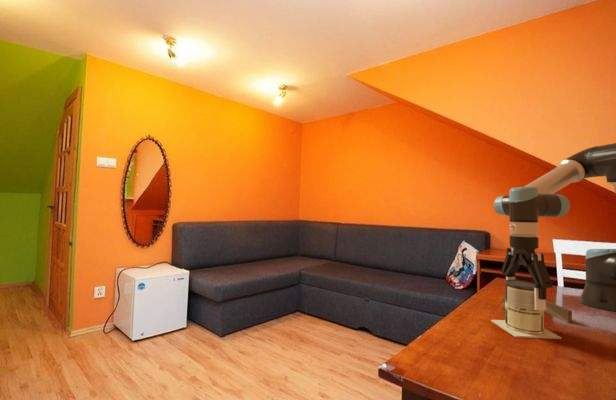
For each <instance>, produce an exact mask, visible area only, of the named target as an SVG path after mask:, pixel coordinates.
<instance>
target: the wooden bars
mask: <svg viewBox="0 0 616 400" xmlns="http://www.w3.org/2000/svg"><path fill="white" fill-rule="evenodd" d="M501 310H504V311H505V297H504V298H503V297H502V298H501ZM544 313H546V314H547V315H551V316H552V317H554V318H557V319H559V320H561V321H563V322H565V323H568V324H572V323H573V312H572V310H571V309H567V308H565V307H563V306H560V305H558V304H556V303H553V302H551V301H548V300H546V310H544Z"/></svg>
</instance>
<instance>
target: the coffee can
mask: <svg viewBox="0 0 616 400" xmlns="http://www.w3.org/2000/svg"><path fill="white" fill-rule="evenodd" d="M535 286H536V284H535V283H534V281H533V280H532V281H531V280H525V279H516V280H515V279H510V280H506V279H504V289H505V290H504V298H505V310H504V320H505V325H506V326H507V327H508V328H510V329H512V330H515V331H518V332H522V333H528V334H543V333H544V328H545V312H544V310H535V305H534V287H535Z"/></svg>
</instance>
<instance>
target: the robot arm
mask: <svg viewBox="0 0 616 400" xmlns="http://www.w3.org/2000/svg"><path fill="white" fill-rule="evenodd" d="M596 177H597V178H598V177H599V178H601V177H605V179H606V182H607V183H608V184H609V185H612V186H613V187H614V192H615V194H616V142H615V143H614V142H612V143H610V144H609V143H608V144H603V145H596V146H592V147H588V148H586V149H582V150H581V151H579V152H577V153H574V154H572V155H571V156H569V157H567V158H565V159H563V160H561V161H560V162H559V163H558V164H557V166H556V167H555V168H553V169H552V170H550V171H549V172H546V173H545V174H543V175H542V176H541V175H540V177H537V178H536V179H535V180H533V181H531V182H529V183H528V184H526V185H524V186H519V187H512V188H510V189H509V191H508V192H509V193H508V194H509V195H507V194H505V195H500V196H497V197H496V198H495V200H494V201H493V208H494V211H495V212H496V213H497V215H500V216H507V217H509V221H508V222H509V226H508V227H509V234H510V235H509V247H507V248H506V253H505V254H506V255H505V258H504V261H503V265H502V268H501V271H500V272H501V274H504V276H505V280H510V279H515V280H517V277H516V274H517V272H518V270H519V268H520V267H521V265H522V266H524V267H525V268H526V269H527V271H528V272H529V274H530V276H531V278H532V282H534V283H535V284H536V286H535V287H534V305H535V310H546V301H547V289H551V288H553V287H554V286H553V283H552V280H551V277H550V275H549V271H548V268H547V265H546V263H545V257H544V256H545V255H544V254H543V253H536V250H537V249H539V244H540V243H539V237H538V236H539V233H540V232H539V218H540V217H541V218H548V217H549V218H556V217H558V218H559V217H563V216H565V215H566V214H567V213H569V210H570V208H571V203H570V200H569V198H567V197H566V196H565V195H562V194H557V192H558V191H560V190H562V189H563V188H565V187H567V186H568V185H570V184H571V183H578V182H580V181H582V180H584V179H589V178H596ZM584 260H585V285H584V287H583V290H582V292H581V295H580V297H579V299H580V300H579V301H580V302H581V304H584V305H586V306H589V307H592V308H596V309H600V310H606V311H614V312H616V248H589V249H587V250H586V252H585V259H584Z"/></svg>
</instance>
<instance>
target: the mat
mask: <svg viewBox="0 0 616 400" xmlns="http://www.w3.org/2000/svg"><path fill="white" fill-rule="evenodd" d="M490 322H492V323H493V324H495V325H496V326H498V327H499V328H501V329H502V330H504V331H506V332H507V333H509V334H510V335H512V337H515V338H523V339H524V338H525V339H527V338H529V339H551V340H552V339H553V340H562V336H560V335H558V334H556V333H554V332H552V331H550V330H549V329H547V328H545V327H544V333H543V334H528V333H522V332H518V331H515V330H512V329H510V328H508V327H507V326H506V325H505V319H491V320H490Z"/></svg>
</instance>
